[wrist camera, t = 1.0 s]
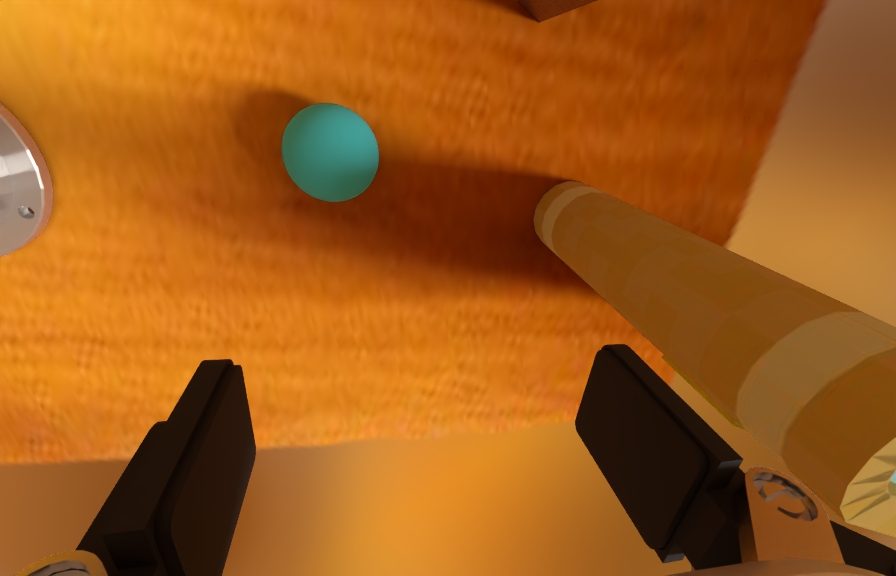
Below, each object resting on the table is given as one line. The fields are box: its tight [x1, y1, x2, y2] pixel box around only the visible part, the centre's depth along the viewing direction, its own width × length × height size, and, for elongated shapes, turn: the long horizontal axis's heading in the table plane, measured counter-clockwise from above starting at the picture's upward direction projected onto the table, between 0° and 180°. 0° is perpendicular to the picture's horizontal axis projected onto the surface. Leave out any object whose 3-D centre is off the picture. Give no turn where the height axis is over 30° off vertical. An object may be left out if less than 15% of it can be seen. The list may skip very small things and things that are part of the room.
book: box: [533, 181, 896, 537], centre depth 24 cm, size 17×7×25 cm, turn 60°
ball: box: [281, 103, 379, 202], centre depth 25 cm, size 6×6×6 cm
